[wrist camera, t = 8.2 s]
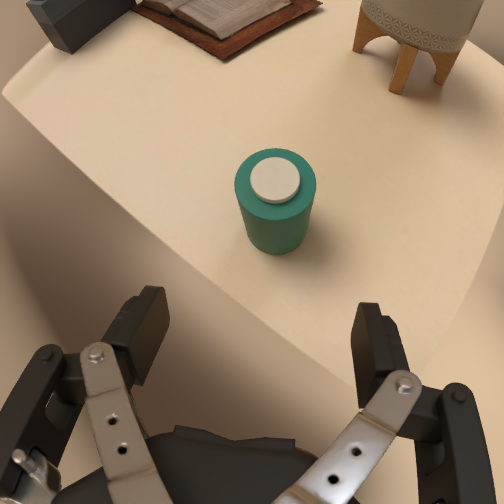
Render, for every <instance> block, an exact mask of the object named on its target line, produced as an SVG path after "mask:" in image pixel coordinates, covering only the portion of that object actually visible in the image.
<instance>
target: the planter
mask: <svg viewBox="0 0 504 504" xmlns="http://www.w3.org/2000/svg"><path fill="white" fill-rule="evenodd" d="M483 2H484V0H362V3H361V6H360V12H359V18H358V23H357V29H356V34H355V39H354V45H353V51H356V52H359V53H362V51H363V48H364V47H365V45H366V44H367V43H368V42H369V41H371V40H373V39H375V38H377V37H381V36H390V37H391V38H393V39H395V40H396V41H398V43H400V44H401V47H400V51H399V55H398V59H397V63H396V66H395V70H394V73H393V76H392V79H391V82H390V86H389V91H391V92H394V93H397V94H399V95H400V94H401V92H402V89H403V87H404V84H405V82H406V80H407V77H408V75H409V72H410V70H411V67H412V64H413V62H414V59H415V57H416V54H417V52H418V50H421V51H425V52H428V53H429V54H430V55H431V57H432V58H433V60H434V62H435V65H436V69H437V71H436V74H435V82H438V83H440V84H442V85H443V84H444V82H445V80H446V78H447V77H448V75H449V73H450V71H451V69H452V67H453V65H454V63H455V61H456V59H457V57H458V55H459V53H460V51H461V49H462V48H463V46H464V44H465V41H466V39H467V37H468V35H469V33H470V31H471V29H472V27H473V24H474V22H475V20H476V18H477V16H478V13H479V11H480V9H481V7H482V4H483Z"/></svg>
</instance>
